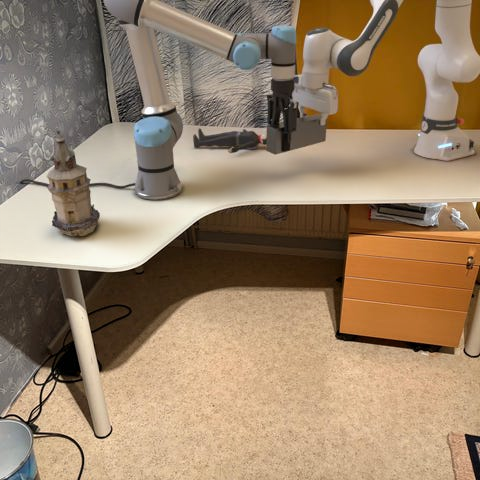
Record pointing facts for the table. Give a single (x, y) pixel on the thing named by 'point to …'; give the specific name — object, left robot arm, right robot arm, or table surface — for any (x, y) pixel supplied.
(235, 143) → the toy
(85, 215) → the miniature building
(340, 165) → the table surface
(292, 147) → the bar
